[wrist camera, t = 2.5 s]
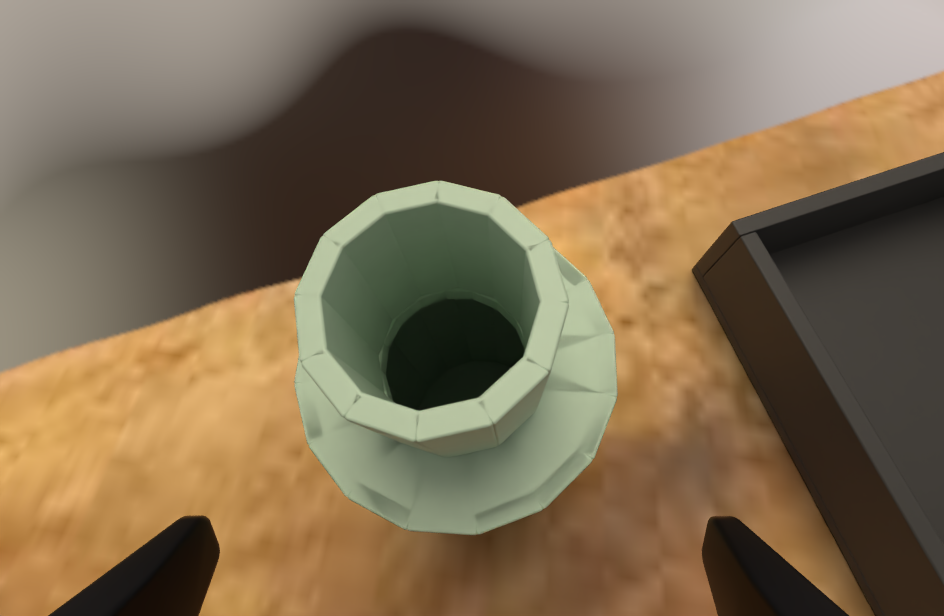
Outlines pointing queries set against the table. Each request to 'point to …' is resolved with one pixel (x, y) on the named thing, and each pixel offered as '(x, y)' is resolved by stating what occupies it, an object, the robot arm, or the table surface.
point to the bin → (852, 363)
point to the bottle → (450, 360)
